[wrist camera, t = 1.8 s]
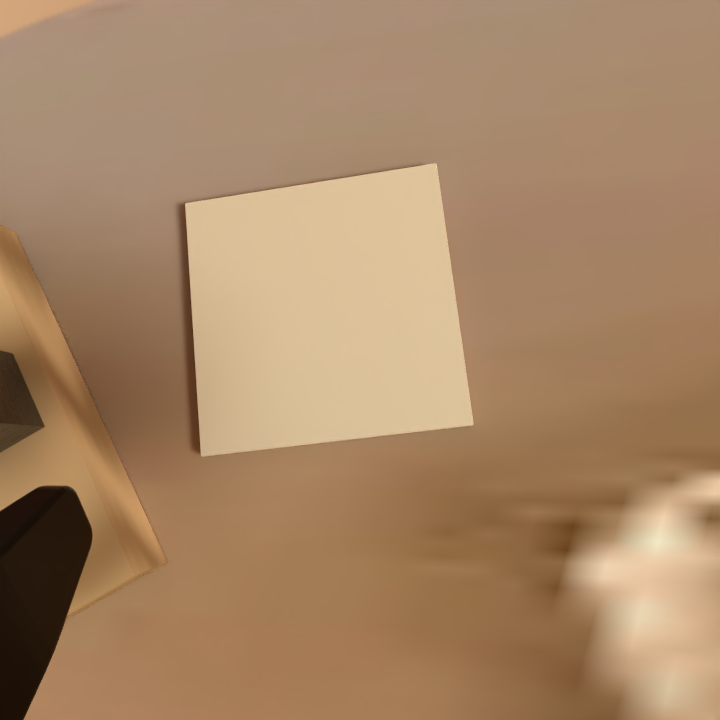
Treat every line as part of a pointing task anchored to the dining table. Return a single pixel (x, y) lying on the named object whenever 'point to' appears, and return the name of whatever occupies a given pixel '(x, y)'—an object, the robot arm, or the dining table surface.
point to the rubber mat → (325, 313)
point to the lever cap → (15, 404)
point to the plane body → (68, 438)
